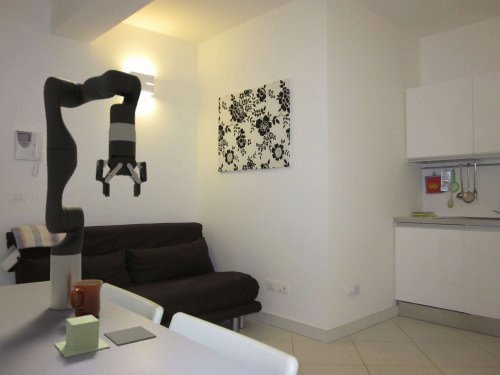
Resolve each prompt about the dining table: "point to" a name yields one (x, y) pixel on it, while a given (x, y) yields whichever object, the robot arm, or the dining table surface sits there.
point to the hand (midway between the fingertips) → (121, 196)
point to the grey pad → (129, 335)
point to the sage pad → (67, 351)
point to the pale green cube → (82, 332)
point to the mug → (86, 297)
